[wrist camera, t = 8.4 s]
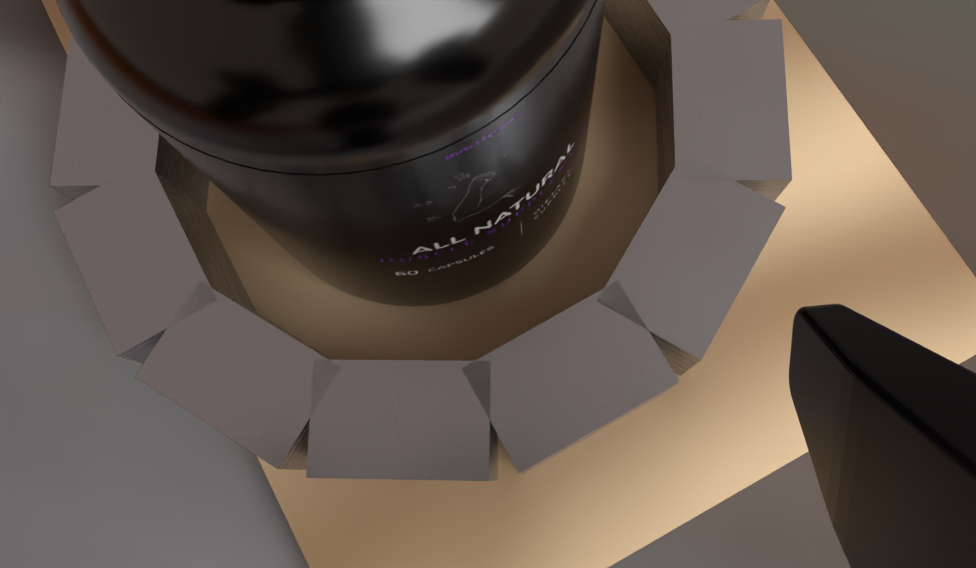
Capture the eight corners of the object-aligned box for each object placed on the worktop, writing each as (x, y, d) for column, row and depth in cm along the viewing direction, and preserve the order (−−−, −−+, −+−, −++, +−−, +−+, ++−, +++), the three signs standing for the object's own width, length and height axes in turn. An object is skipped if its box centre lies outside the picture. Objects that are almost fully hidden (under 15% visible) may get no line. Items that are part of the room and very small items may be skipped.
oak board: (993, 337, 17) (1015, 331, 16) (382, 692, 16) (373, 703, 16) (546, -284, 21) (546, -312, 20) (43, -19, 20) (23, -38, 20)
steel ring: (889, 264, 17) (945, 230, 14) (284, 609, 16) (240, 632, 14) (547, -222, 20) (547, -315, 17) (29, 53, 19) (-44, -6, 17)
